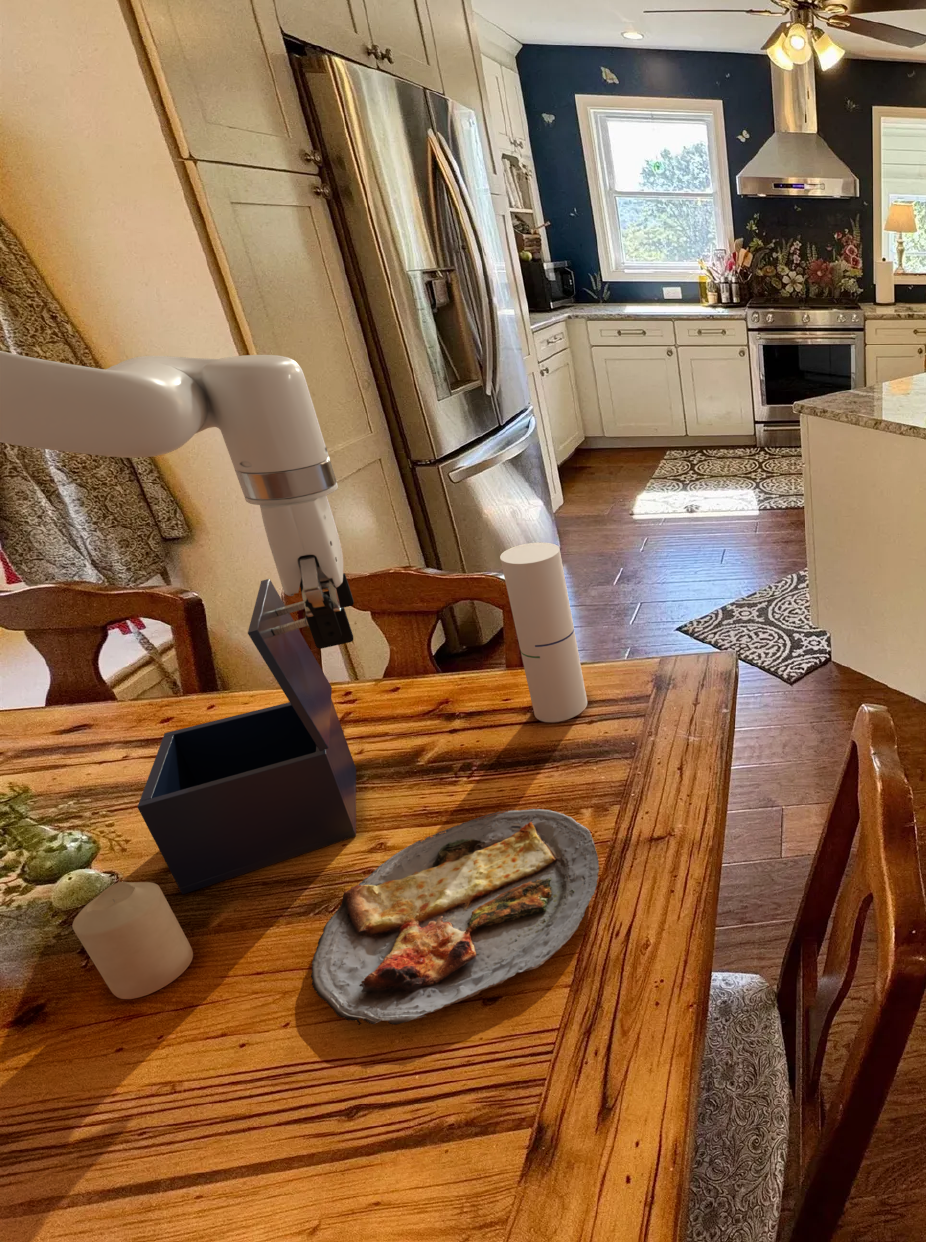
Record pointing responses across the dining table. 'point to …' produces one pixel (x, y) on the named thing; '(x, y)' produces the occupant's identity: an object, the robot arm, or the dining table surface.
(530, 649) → the cylindrical container
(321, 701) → the lid
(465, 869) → the food plate
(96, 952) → the candle
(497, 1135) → the dining table surface
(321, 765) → the navy blue box
